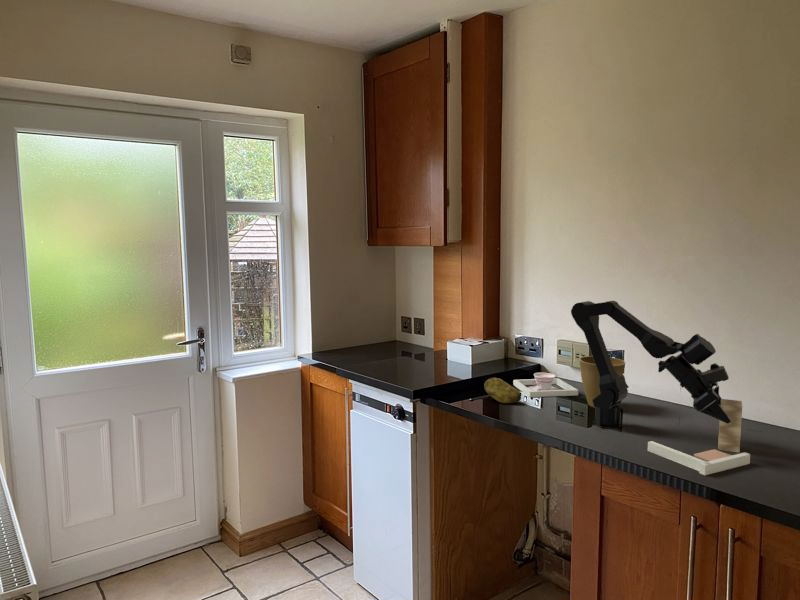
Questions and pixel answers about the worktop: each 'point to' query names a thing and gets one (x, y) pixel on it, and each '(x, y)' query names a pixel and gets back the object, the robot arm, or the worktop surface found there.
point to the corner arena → (713, 457)
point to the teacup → (543, 382)
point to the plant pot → (595, 376)
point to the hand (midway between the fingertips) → (729, 417)
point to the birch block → (730, 426)
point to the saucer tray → (546, 393)
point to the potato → (502, 391)
